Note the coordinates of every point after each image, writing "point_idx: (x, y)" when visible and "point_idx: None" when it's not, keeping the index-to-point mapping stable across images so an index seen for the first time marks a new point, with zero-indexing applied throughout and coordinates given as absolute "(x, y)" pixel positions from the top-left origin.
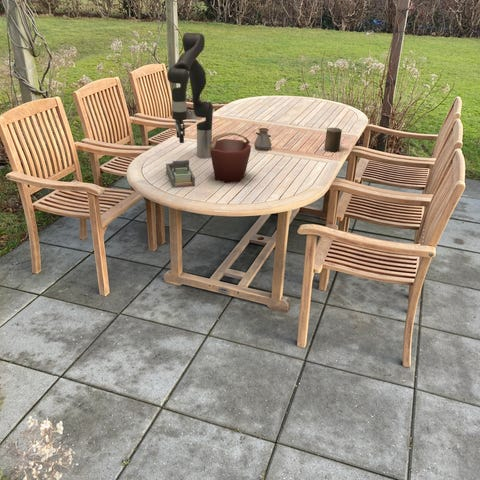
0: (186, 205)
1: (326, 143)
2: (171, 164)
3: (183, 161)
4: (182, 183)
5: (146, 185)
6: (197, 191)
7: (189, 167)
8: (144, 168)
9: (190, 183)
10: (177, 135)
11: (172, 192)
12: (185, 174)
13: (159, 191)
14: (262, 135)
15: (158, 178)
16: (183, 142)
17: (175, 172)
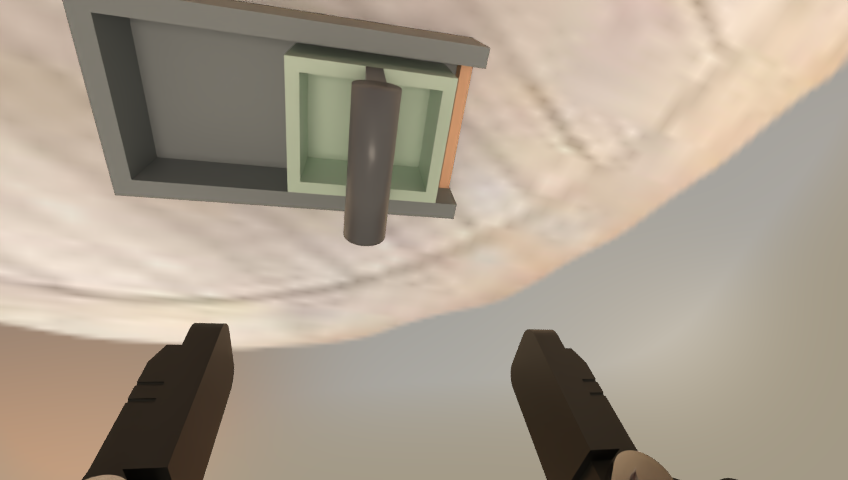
0: (689, 178)
1: None
2: (127, 152)
3: (387, 153)
4: (457, 137)
5: (361, 303)
6: (566, 52)
7: (233, 9)
8: (73, 280)
9: (469, 76)
10: (221, 414)
11: (504, 205)
12: (448, 124)
13: (462, 261)
14: None
15: (270, 234)
16: (550, 334)
17: (303, 157)
